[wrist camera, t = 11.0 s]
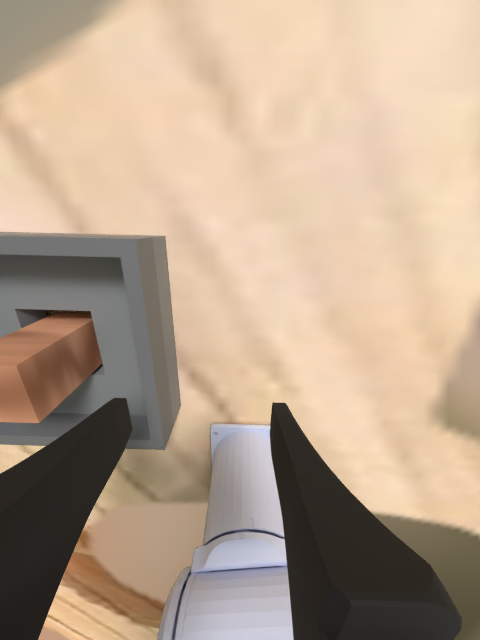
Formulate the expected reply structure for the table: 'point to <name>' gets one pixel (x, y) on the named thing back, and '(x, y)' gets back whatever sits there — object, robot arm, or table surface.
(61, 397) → the peg
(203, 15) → the table surface
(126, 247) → the hole box
